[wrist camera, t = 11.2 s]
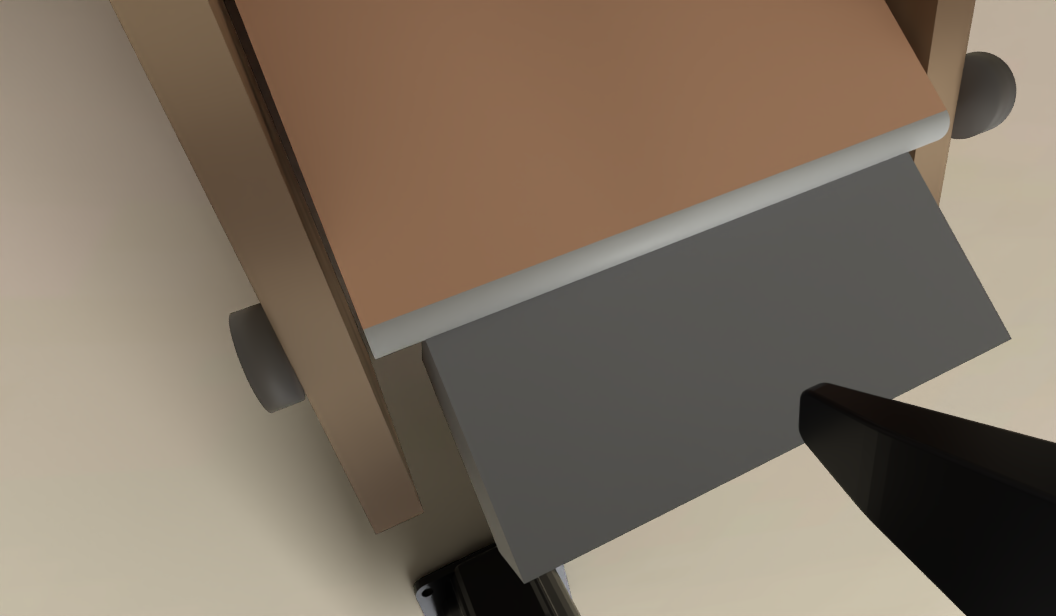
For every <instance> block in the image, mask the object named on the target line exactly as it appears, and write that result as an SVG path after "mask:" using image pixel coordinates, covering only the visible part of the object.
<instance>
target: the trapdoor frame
mask: <svg viewBox="0 0 1056 616" xmlns="http://www.w3.org/2000/svg"><path fill="white" fill-rule="evenodd" d="M109 1H110V3H111V5H112V7H113V9H114V11H115V13H116V15H117V17H118V19H119V21H120V23H121V25H122V27H123V29H124V31H125V33H126V35H127V37H128V39H129V41H130V43H131V45H132V47H133V49H134V51H135V53H136V55H137V57H138V59H139V61H140V63H141V65H142V67H143V69H144V71H145V73H146V75H147V77H148V79H149V81H150V83H151V85H152V87H153V89H154V91H155V93H156V95H157V97H158V99H159V101H160V103H161V105H162V107H163V109H164V111H165V113H166V115H167V117H168V119H169V121H170V123H171V125H172V127H173V129H174V131H175V133H176V135H177V137H178V139H179V141H180V143H181V145H182V147H183V149H184V151H185V153H186V155H187V157H188V159H189V161H190V163H191V165H192V167H193V169H194V171H195V173H196V175H197V177H198V179H199V181H200V183H201V185H202V187H203V189H204V191H205V193H206V195H207V197H208V199H209V201H210V203H211V205H212V207H213V209H214V211H215V213H216V215H217V217H218V219H219V221H220V223H221V225H222V227H223V229H224V231H225V233H226V235H227V237H228V239H229V241H230V243H231V245H232V247H233V249H234V251H235V253H236V255H237V257H238V259H239V261H240V263H241V265H242V267H243V269H244V271H245V273H246V275H247V277H248V279H249V281H250V283H251V285H252V287H253V289H254V291H255V293H256V295H257V297H258V299H259V301H260V303H259V304H256V305H253V306H250V307H248V308H245V309H242V310H239V311H236V312H233V313H231V314H230V316H229V326H230V331H231V336H232V340H233V343H234V346H235V349H236V352H237V355H238V358H239V361H240V363H241V366H242V368H243V371H244V373H245V375H246V377H247V380H248V382H249V384H250V386H251V388H252V389H253V391H254V393H255V395H256V397H257V398H258V400H259V401H260V403H261V404H262V406H263V407H264V408H265V409H266V410H267V411H268V412H269V413H273V412H275V411H278V410H280V409H283V408H285V407H288V406H290V405H293V404H295V403H298V402H301V401H303V400H304V399H305V393H306V395H307V397H308V399H309V401H310V403H311V405H312V407H313V409H314V411H315V413H316V415H317V417H318V419H319V421H320V423H321V425H322V427H323V429H324V431H325V433H326V435H327V437H328V439H329V441H330V443H331V445H332V447H333V449H334V451H335V453H336V455H337V457H338V459H339V461H340V463H341V465H342V467H343V469H344V471H345V473H346V475H347V477H348V479H349V481H350V483H351V485H352V487H353V489H354V491H355V493H356V495H357V497H358V499H359V501H360V503H361V505H362V507H363V509H364V511H365V513H366V515H367V517H368V519H369V521H370V523H371V525H372V527H373V529H374V531H375V533H376V534H378V533H380V532H383V531H385V530H387V529H389V528H391V527H394V526H396V525H398V524H400V523H402V522H405V521H407V520H409V519H411V518H413V517H416V516H418V515H420V514H422V513H424V511H423V508H422V505H421V503H420V500H419V497H418V494H417V491H416V488H415V485H414V483H413V480H412V477H411V474H410V471H409V468H408V466H407V463H406V460H405V457H404V454H403V451H402V448H401V446H400V443H399V440H398V437H397V434H396V431H395V429H394V426H393V423H392V420H391V417H390V414H389V412H388V409H387V406H386V403H385V400H384V397H383V394H382V392H381V389H380V386H379V383H378V380H377V377H376V375H375V372H374V369H373V366H372V363H371V360H370V357H369V355H368V352H367V350H366V347H365V345H364V343H363V340H362V338H361V335H360V333H359V330H358V328H357V325H356V323H355V321H354V318H353V316H352V313H351V311H350V308H349V306H348V304H347V301H346V299H345V296H344V294H343V291H342V289H341V286H340V284H339V282H338V279H337V277H336V274H335V272H334V269H333V267H332V265H331V262H330V260H329V257H328V255H327V252H326V250H325V247H324V245H323V243H322V240H321V238H320V235H319V233H318V230H317V228H316V226H315V223H314V221H313V218H312V216H311V213H310V211H309V208H308V206H307V204H306V201H305V199H304V196H303V194H302V191H301V189H300V187H299V184H298V182H297V179H296V177H295V174H294V172H293V170H292V167H291V165H290V162H289V160H288V157H287V155H286V152H285V150H284V148H283V145H282V143H281V140H280V138H279V135H278V133H277V131H276V128H275V126H274V123H273V121H272V118H271V116H270V113H269V111H268V109H267V106H266V104H265V101H264V99H263V96H262V94H261V92H260V89H259V87H258V84H257V82H256V79H255V77H254V74H253V72H252V70H251V67H250V65H249V62H248V60H247V57H246V55H245V53H244V50H243V48H242V45H241V43H240V40H239V38H238V35H237V33H236V31H235V28H234V26H233V23H232V21H231V18H230V16H229V14H228V11H227V9H226V6H225V4H224V1H223V0H109ZM885 2H886V4H887V5H888V7H889V9H890V11H891V13H892V14H893V16H894V18H895V20H896V21H897V23H898V25H899V27H900V28H901V30H902V32H903V34H904V35H905V37H906V39H907V41H908V42H909V44H910V46H911V48H912V49H913V51H914V53H915V55H916V56H917V58H918V60H919V62H920V64H921V65H922V67H923V69H924V71H925V72H926V74H927V76H928V78H929V79H930V81H931V83H932V85H933V86H934V88H935V90H936V92H937V93H938V95H939V97H940V99H941V100H942V102H943V104H944V106H945V108H946V109H947V111H948V114H949V117H950V125H949V129H948V131H947V133H946V134H945V136H944V137H943V138H941V139H940V140H937V141H935V142H932V143H930V144H927V145H925V146H922V147H919V148H917V149H914V150H912V151H909V154H910V156H911V157H912V159H913V161H914V163H915V165H916V167H917V168H918V170H919V172H920V174H921V176H922V177H923V179H924V181H925V183H926V185H927V186H928V188H929V190H930V192H931V194H932V196H933V197H934V199H935V201H936V203H937V205H938V206H939V202H940V196H941V191H942V185H943V180H944V174H945V168H946V163H947V157H948V152H949V146H950V140H951V138H953V139H966V138H970V137H973V136H975V135H978V134H980V133H983V132H985V131H988V130H990V129H993V128H995V127H996V126H998V125H999V124H1001V123H1002V122H1003V121H1004V120H1005V119H1006V118H1007V116H1008V115H1009V113H1010V112H1011V110H1012V108H1013V106H1014V102H1015V98H1016V83H1015V79H1014V76H1013V73H1012V72H1011V70H1010V68H1009V67H1008V65H1007V64H1006V63H1005V62H1004V61H1003V60H1002V59H1000V58H999V57H997V56H995V55H993V54H990V53H986V52H972V53H968V54H966V51H967V45H968V40H969V34H970V28H971V23H972V17H973V12H974V6H975V0H885ZM304 391H305V392H304Z"/></svg>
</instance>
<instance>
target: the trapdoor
mask: <svg viewBox="0 0 1056 616" xmlns="http://www.w3.org/2000/svg"><path fill="white" fill-rule="evenodd" d="M235 2H236V5H237V8H238V10H239V13H240V15H241V18H242V20H243V23H244V26H245V28H246V31H247V33H248V36H249V38H250V41H251V43H252V46H253V49H254V51H255V54H256V56H257V59H258V61H259V64H260V67H261V69H262V72H263V74H264V77H265V79H266V82H267V85H268V87H269V90H270V92H271V95H272V97H273V100H274V102H275V105H276V108H277V110H278V113H279V115H280V118H281V120H282V123H283V126H284V128H285V131H286V133H287V136H288V138H289V141H290V144H291V146H292V149H293V151H294V154H295V156H296V159H297V161H298V164H299V167H300V169H301V172H302V174H303V177H304V179H305V182H306V185H307V187H308V190H309V192H310V195H311V197H312V200H313V203H314V205H315V208H316V210H317V213H318V215H319V218H320V220H321V223H322V226H323V228H324V231H325V233H326V236H327V238H328V241H329V244H330V246H331V249H332V251H333V254H334V256H335V259H336V262H337V264H338V267H339V269H340V272H341V274H342V277H343V279H344V282H345V285H346V287H347V290H348V292H349V295H350V297H351V300H352V303H353V305H354V308H355V310H356V313H357V315H358V318H359V321H360V323H361V326H362V328H363V331H364V333H365V336H366V338H367V341H368V343H369V346H370V348H371V351H372V353H373V356H374V358H375V359H378V358H380V357H383V356H386V355H388V354H391V353H393V352H396V351H398V350H401V349H403V348H406V347H409V346H411V345H414V344H416V343H419V342H421V341H422V361H423V363H424V366H425V368H426V371H427V373H428V376H429V378H430V381H431V383H432V386H433V388H434V391H435V393H436V396H437V398H438V401H439V403H440V406H441V408H442V411H443V413H444V416H445V418H446V421H447V423H448V426H449V428H450V431H451V433H452V436H453V438H454V441H455V443H456V445H457V448H458V450H459V453H460V455H461V458H462V460H463V463H464V465H465V468H466V470H467V473H468V475H469V478H470V480H471V483H472V485H473V488H474V490H475V493H476V495H477V498H478V500H479V503H480V505H481V508H482V510H483V513H484V515H485V518H486V520H487V523H488V525H489V528H490V530H491V533H492V535H493V538H494V540H495V543H496V545H497V548H498V550H499V552H500V553H501V555H502V556H503V557H504V558H505V560H506V561H507V562H508V564H509V565H510V566H511V567H512V569H513V570H514V571H515V573H516V574H517V575H518V576H519V578H520V579H521V580H522V582H523V583H524V584H525V583H527V582H529V581H531V580H533V579H535V578H537V577H539V576H541V575H543V574H545V573H547V572H549V571H551V570H553V569H555V568H557V567H559V566H561V565H563V564H565V563H567V562H569V561H571V560H573V559H575V558H577V557H579V556H581V555H583V554H585V553H587V552H589V551H591V550H593V549H595V548H597V547H599V546H601V545H603V544H605V543H607V542H609V541H611V540H613V539H615V538H617V537H619V536H621V535H623V534H625V533H627V532H629V531H631V530H633V529H635V528H637V527H639V526H641V525H643V524H645V523H647V522H649V521H651V520H653V519H655V518H657V517H659V516H661V515H663V514H665V513H667V512H669V511H671V510H673V509H675V508H677V507H678V506H680V505H682V504H684V503H686V502H688V501H690V500H692V499H694V498H696V497H698V496H700V495H702V494H704V493H706V492H708V491H710V490H712V489H714V488H716V487H718V486H720V485H722V484H724V483H726V482H728V481H730V480H732V479H734V478H736V477H738V476H740V475H742V474H744V473H746V472H748V471H750V470H752V469H754V468H756V467H758V466H760V465H762V464H764V463H766V462H768V461H770V460H772V459H774V458H776V457H778V456H780V455H782V454H784V453H786V452H788V451H790V450H792V449H794V448H796V447H798V446H800V445H802V444H804V443H805V442H804V441H803V439H802V438H801V435H800V433H799V429H798V423H799V405H800V396H801V394H802V392H803V391H804V390H806V389H808V388H810V387H812V386H815V385H817V384H819V383H824V382H826V383H832V384H835V385H839V386H843V387H847V388H850V389H854V390H858V391H862V392H866V393H869V394H873V395H877V396H881V397H884V398H888V399H893V398H895V397H897V396H899V395H901V394H903V393H905V392H907V391H909V390H911V389H913V388H915V387H917V386H919V385H921V384H923V383H925V382H927V381H929V380H931V379H933V378H935V377H937V376H939V375H941V374H943V373H945V372H947V371H949V370H951V369H953V368H955V367H957V366H959V365H961V364H963V363H965V362H967V361H969V360H971V359H973V358H975V357H977V356H979V355H981V354H983V353H985V352H987V351H989V350H991V349H993V348H995V347H997V346H999V345H1000V344H1002V343H1004V342H1006V341H1008V340H1010V339H1011V337H1010V335H1009V333H1008V331H1007V330H1006V328H1005V326H1004V324H1003V322H1002V321H1001V319H1000V317H999V315H998V313H997V311H996V310H995V308H994V306H993V304H992V302H991V301H990V299H989V297H988V295H987V293H986V292H985V290H984V288H983V286H982V284H981V282H980V281H979V279H978V277H977V275H976V273H975V272H974V270H973V268H972V266H971V264H970V263H969V261H968V259H967V257H966V255H965V253H964V252H963V250H962V248H961V246H960V244H959V243H958V241H957V239H956V237H955V235H954V234H953V232H952V230H951V228H950V226H949V225H948V223H947V221H946V219H945V217H944V215H943V214H942V212H941V210H940V208H939V206H938V205H937V203H936V201H935V199H934V197H933V196H932V194H931V192H930V190H929V188H928V186H927V185H926V183H925V181H924V179H923V177H922V176H921V174H920V172H919V170H918V168H917V167H916V165H915V163H914V161H913V159H912V157H911V156H910V154H909V151H912V150H914V149H917V148H919V147H922V146H925V145H927V144H930V143H932V142H935V141H937V140H940V139H941V138H943V137H944V136H945V134H946V133H947V131H948V129H949V125H950V117H949V114H948V111H947V109H946V108H945V106H944V104H943V102H942V100H941V99H940V97H939V95H938V93H937V92H936V90H935V88H934V86H933V85H932V83H931V81H930V79H929V78H928V76H927V74H926V72H925V71H924V69H923V67H922V65H921V64H920V62H919V60H918V58H917V56H916V55H915V53H914V51H913V49H912V48H911V46H910V44H909V42H908V41H907V39H906V37H905V35H904V34H903V32H902V30H901V28H900V27H899V25H898V23H897V21H896V20H895V18H894V16H893V14H892V13H891V11H890V9H889V7H888V5H887V4H886V2H885V0H235Z"/></svg>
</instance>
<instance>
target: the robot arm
mask: <svg viewBox="0 0 1056 616" xmlns="http://www.w3.org/2000/svg"><path fill="white" fill-rule="evenodd" d="M798 429H799V433H800V435H801V438H802V439H803V441H804V442H805V444H806V445H807V446H808V447H809V449H810V450H811V451H812V452H813V453H814V455H815V456H816V457H817V458H818V459H819V461H820V462H821V463H822V464H823V465H824V467H825V468H826V469H827V470H828V471H829V473H830V474H831V475H832V476H833V477H834V479H835V480H836V481H837V482H838V483H839V485H840V486H841V487H842V488H843V489H844V491H845V492H846V493H847V494H848V495H849V497H850V498H851V499H852V500H853V501H854V503H855V504H856V505H857V506H858V507H859V508H860V510H861V511H862V512H863V513H864V514H865V515H866V516H867V517H868V518H869V519H870V520H871V521H872V522H873V523H874V525H875V526H876V527H877V528H878V529H879V530H880V531H881V532H882V533H883V534H884V535H885V536H886V537H887V538H888V539H889V540H890V541H891V542H892V543H893V544H894V545H895V546H896V547H897V548H899V549H900V550H901V551H902V552H903V553H904V554H905V555H906V556H907V557H908V558H909V559H910V560H911V561H912V562H913V563H914V564H915V565H916V566H917V567H918V568H919V569H920V570H921V571H922V572H923V573H924V574H925V575H926V576H927V577H928V578H929V579H930V580H931V581H932V582H933V583H934V584H935V585H936V586H937V587H938V588H939V589H940V590H941V591H942V592H943V593H944V594H945V595H946V596H947V597H948V598H949V599H950V600H951V601H952V602H953V603H954V604H955V605H956V606H957V607H958V608H959V609H960V610H961V611H962V612H963V613H964V614H965V615H966V616H1056V443H1054V442H1051V441H1047V440H1043V439H1039V438H1035V437H1032V436H1028V435H1024V434H1020V433H1017V432H1013V431H1009V430H1005V429H1001V428H998V427H994V426H990V425H986V424H983V423H979V422H975V421H971V420H968V419H964V418H960V417H956V416H952V415H949V414H945V413H941V412H937V411H934V410H930V409H926V408H922V407H918V406H915V405H911V404H907V403H903V402H900V401H896V400H892V399H888V398H884V397H881V396H877V395H873V394H869V393H866V392H862V391H858V390H854V389H850V388H847V387H843V386H839V385H835V384H832V383H826V382H824V383H819V384H817V385H815V386H812V387H810V388H808V389H806V390H804V391H803V392H802V394H801V396H800V405H799V423H798ZM414 592H415V596H416V599H417V601H418V603H419V605H420V607H421V609H422V611H423V613H424V615H425V616H581V615H580V613H579V612H578V610H577V608H576V606H575V604H574V602H573V600H572V596H571V592H570V589H569V585H568V581H567V577H566V573H565V569H564V565H561V566H559V567H557V568H555V569H553V570H551V571H549V572H547V573H545V574H543V575H541V576H539V577H537V578H535V579H533V580H531V581H529V582H527V583H525V584H524V583H523V582H522V580H521V579H520V578H519V576H518V575H517V574H516V573H515V571H514V570H513V569H512V567H511V566H510V565H509V564H508V562H507V561H506V560H505V558H504V557H503V556H502V555H501V553H500V552H499V550H498V548H497V545H496V543H494V544H492V545H490V546H488V547H486V548H483V549H481V550H479V551H477V552H475V553H473V554H471V555H469V556H467V557H465V558H463V559H461V560H459V561H456V562H454V563H452V564H450V565H448V566H446V567H444V568H442V569H440V570H438V571H436V572H434V573H431V574H429V575H427V576H425V577H423V578H421V579H420V580H418V581H417V582H416V583H415V585H414Z"/></svg>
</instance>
